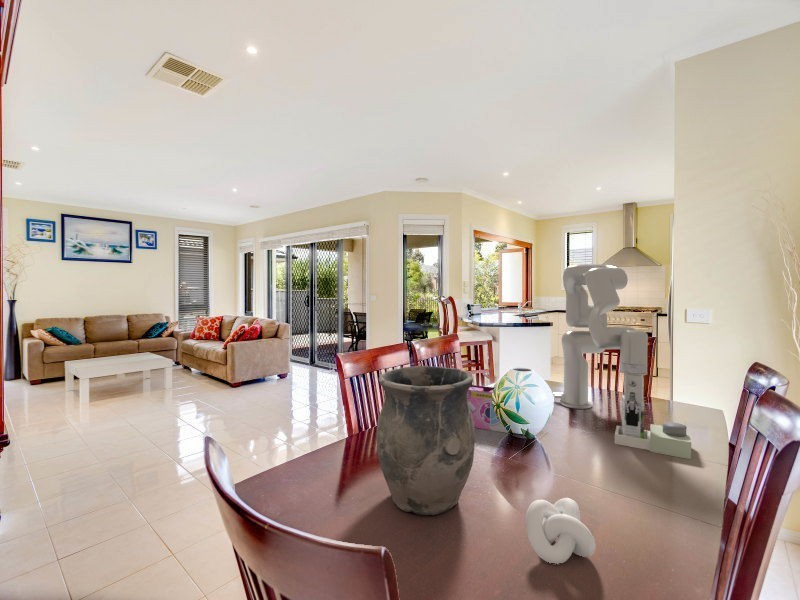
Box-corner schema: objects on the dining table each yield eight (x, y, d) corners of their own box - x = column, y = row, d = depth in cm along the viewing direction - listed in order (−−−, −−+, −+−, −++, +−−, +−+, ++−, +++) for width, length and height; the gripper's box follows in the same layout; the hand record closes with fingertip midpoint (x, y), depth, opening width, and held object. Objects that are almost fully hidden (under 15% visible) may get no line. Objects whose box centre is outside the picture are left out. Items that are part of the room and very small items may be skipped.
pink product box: (532, 429, 138) (533, 391, 138) (528, 437, 131) (529, 397, 131) (467, 419, 149) (467, 383, 149) (460, 425, 142) (460, 388, 142)
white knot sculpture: (524, 526, 82) (525, 484, 81) (587, 537, 78) (588, 493, 78) (525, 563, 71) (526, 514, 71) (599, 577, 67) (599, 525, 67)
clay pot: (380, 476, 104) (380, 363, 103) (467, 477, 103) (467, 364, 102) (372, 527, 81) (371, 384, 81) (482, 529, 81) (483, 385, 80)
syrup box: (623, 443, 125) (623, 398, 125) (621, 437, 131) (621, 393, 130) (644, 446, 123) (644, 400, 122) (641, 439, 128) (641, 395, 128)
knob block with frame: (614, 445, 124) (614, 421, 124) (616, 433, 134) (617, 411, 134) (691, 459, 113) (691, 433, 113) (687, 445, 123) (688, 421, 123)
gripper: (647, 375, 116) (646, 431, 117) (647, 365, 131) (646, 415, 132) (618, 372, 120) (617, 426, 121) (621, 362, 135) (620, 411, 136)
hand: (632, 421), depth 126 cm, fingers open, 9 cm apart
